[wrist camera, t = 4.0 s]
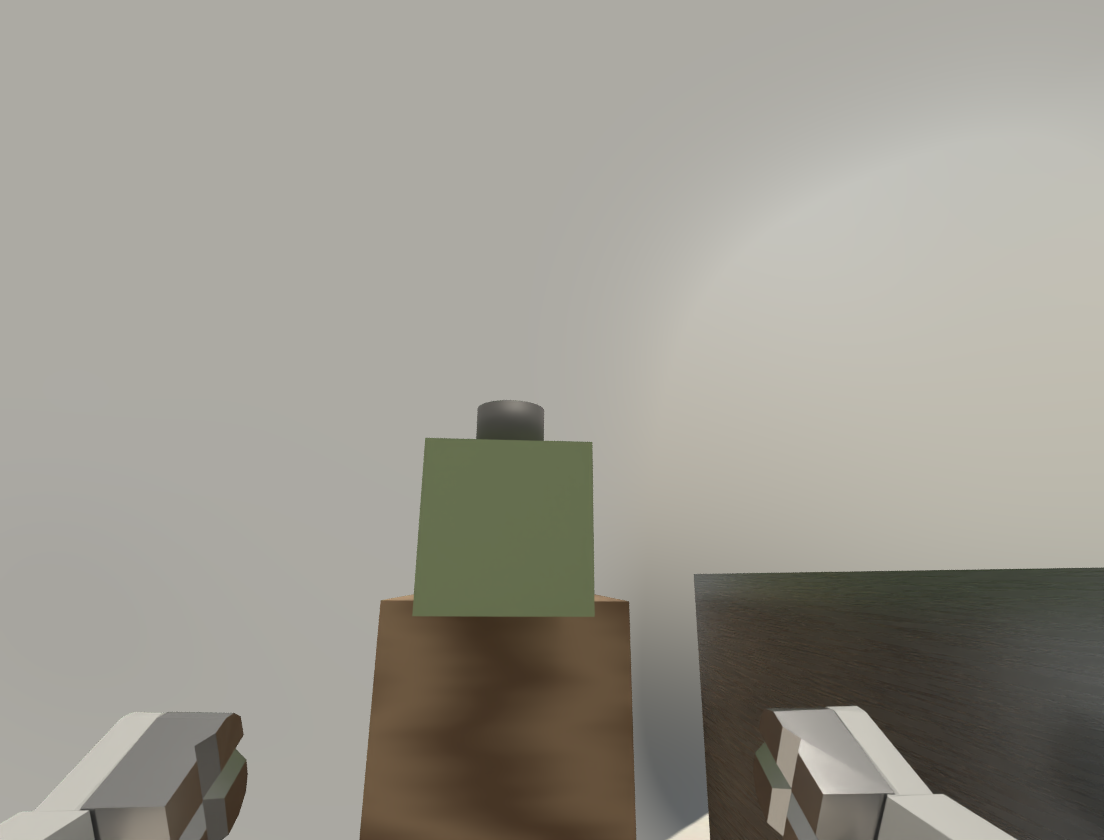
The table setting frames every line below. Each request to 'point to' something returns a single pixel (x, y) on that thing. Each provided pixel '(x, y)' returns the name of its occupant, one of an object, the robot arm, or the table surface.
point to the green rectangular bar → (506, 521)
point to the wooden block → (501, 727)
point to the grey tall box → (917, 684)
